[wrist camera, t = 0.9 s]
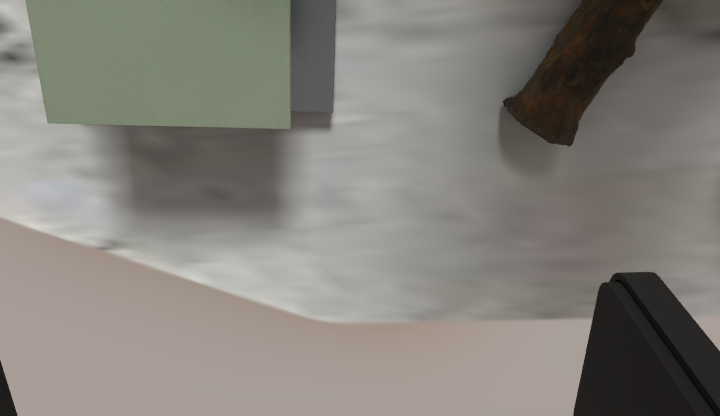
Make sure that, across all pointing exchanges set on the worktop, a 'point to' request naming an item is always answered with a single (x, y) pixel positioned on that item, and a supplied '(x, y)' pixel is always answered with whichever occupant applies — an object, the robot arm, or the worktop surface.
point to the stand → (184, 61)
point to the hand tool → (579, 66)
